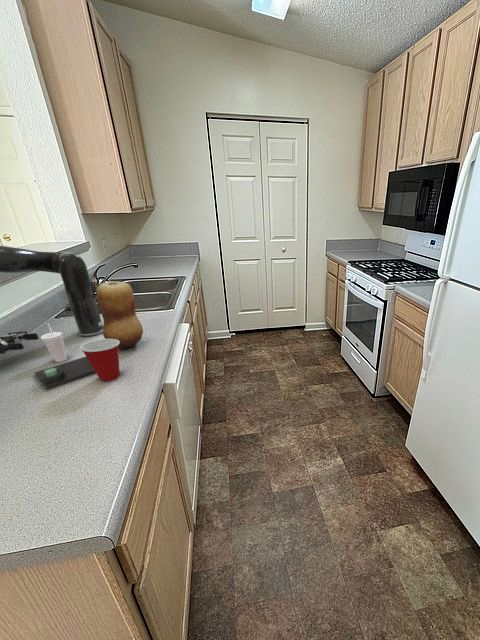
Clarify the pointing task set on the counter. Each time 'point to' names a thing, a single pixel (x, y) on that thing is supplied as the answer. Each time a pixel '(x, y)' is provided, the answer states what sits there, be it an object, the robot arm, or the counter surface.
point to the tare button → (51, 372)
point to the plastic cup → (103, 357)
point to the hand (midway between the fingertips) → (30, 341)
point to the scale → (66, 373)
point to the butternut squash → (119, 313)
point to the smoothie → (55, 345)
